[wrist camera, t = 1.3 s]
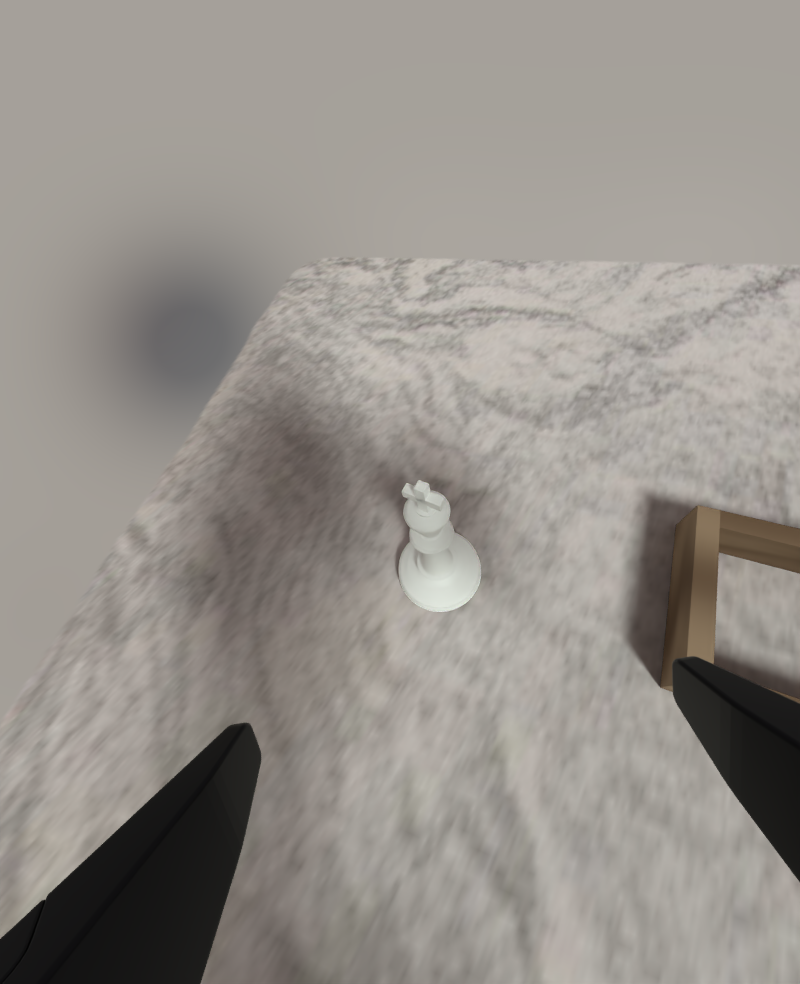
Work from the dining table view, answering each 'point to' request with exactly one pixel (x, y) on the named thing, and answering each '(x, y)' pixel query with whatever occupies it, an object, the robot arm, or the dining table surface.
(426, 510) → the chess piece
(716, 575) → the socket frame
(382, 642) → the dining table surface
